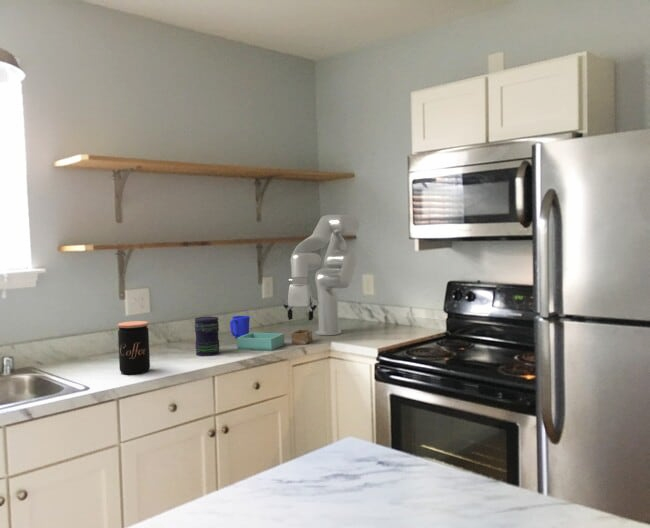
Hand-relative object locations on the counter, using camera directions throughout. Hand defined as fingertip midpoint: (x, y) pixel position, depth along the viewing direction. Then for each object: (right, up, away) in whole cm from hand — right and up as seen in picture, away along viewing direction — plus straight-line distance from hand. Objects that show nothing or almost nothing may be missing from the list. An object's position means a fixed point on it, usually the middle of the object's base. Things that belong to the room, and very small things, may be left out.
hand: (300, 319), depth 271 cm
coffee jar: (-59, -15, -48) cm, 77 cm away
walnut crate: (+1, -10, +1) cm, 11 cm away
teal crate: (-17, -11, -6) cm, 21 cm away
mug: (-30, -11, +17) cm, 36 cm away
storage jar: (-38, -13, -18) cm, 44 cm away
